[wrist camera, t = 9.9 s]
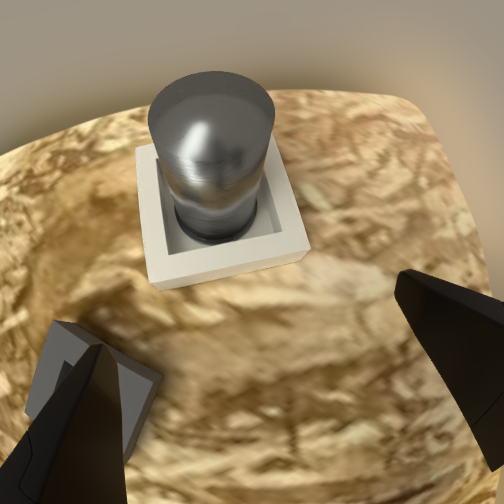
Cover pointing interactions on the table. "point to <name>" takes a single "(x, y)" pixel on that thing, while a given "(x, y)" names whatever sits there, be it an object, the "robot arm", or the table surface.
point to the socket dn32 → (65, 357)
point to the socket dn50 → (224, 255)
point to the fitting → (213, 151)
